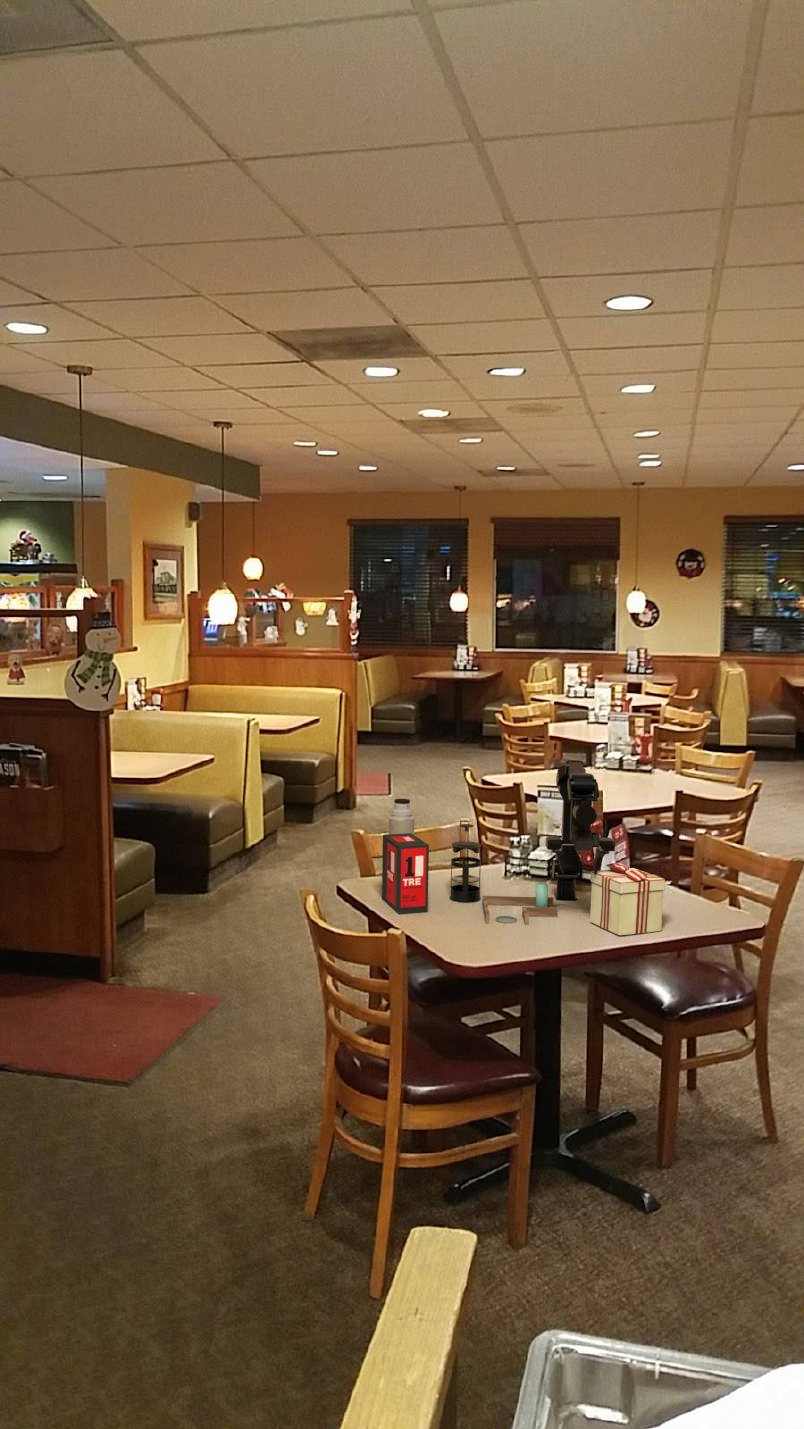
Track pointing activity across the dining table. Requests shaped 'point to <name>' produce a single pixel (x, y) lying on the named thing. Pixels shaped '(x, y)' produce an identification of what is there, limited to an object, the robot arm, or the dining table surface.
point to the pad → (506, 919)
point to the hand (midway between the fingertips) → (578, 873)
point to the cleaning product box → (405, 873)
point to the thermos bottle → (401, 818)
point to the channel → (519, 901)
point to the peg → (541, 895)
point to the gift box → (626, 900)
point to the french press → (465, 872)
